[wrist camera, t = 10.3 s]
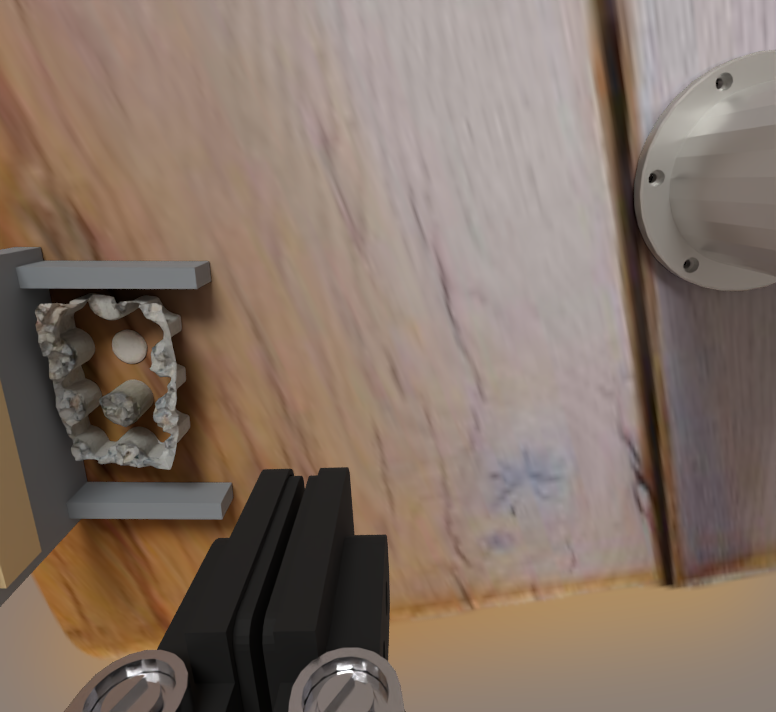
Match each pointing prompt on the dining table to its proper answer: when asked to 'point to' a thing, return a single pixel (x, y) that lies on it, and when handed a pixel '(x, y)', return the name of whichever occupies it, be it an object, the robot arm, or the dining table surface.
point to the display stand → (48, 433)
